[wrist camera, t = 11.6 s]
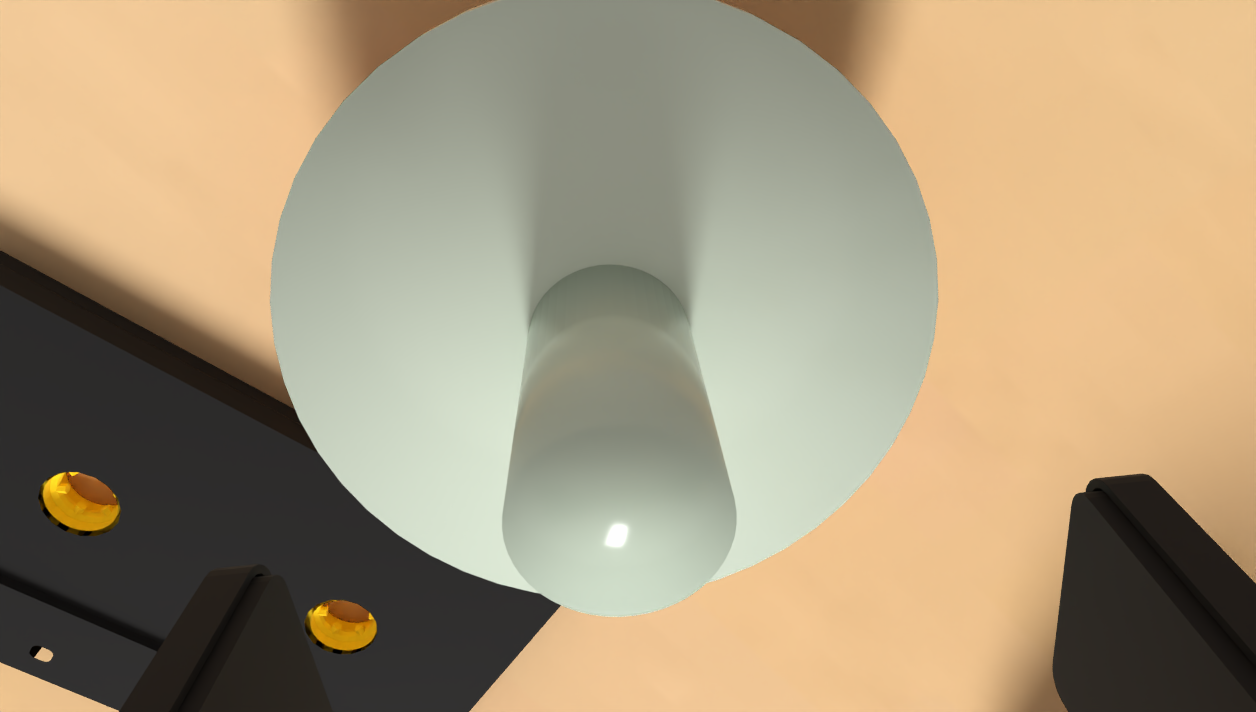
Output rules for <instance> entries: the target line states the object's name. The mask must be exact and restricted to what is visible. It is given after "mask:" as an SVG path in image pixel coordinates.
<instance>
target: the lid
mask: <svg viewBox="0 0 1256 712" xmlns="http://www.w3.org/2000/svg"><path fill="white" fill-rule="evenodd" d="M270 306H271V316H272V326H273V335H274V344H275V348H276V352H277V356H278V360H279V364H280V368H281V372H282V376H283V380H284V383H285V386H286V388H287V391H288V393H289V396H290V398H291V400H292V403H293V405H294V408H295V410H296V413H297V415H298V418H299V420H300V422H301V423H302V425H303V427H304V429H305V430H306V432H307V434H308V436H309V437H310V439H311V441H312V443H313V444H314V446H315V448H316V450H317V451H318V453H319V454H320V456H321V457H322V458H323V460H324V461H325V462H326V464H327V465H328V466H329V468H330V469H331V470H332V472H333V473H334V474H335V476H336V477H337V478H338V479H339V481H340V482H341V483H342V484H343V485H344V486H345V488H346V489H347V490H348V491H349V492H350V493H351V494H352V495H353V496H354V497H355V498H356V499H357V500H358V501H359V502H360V503H361V504H362V505H363V506H364V507H365V508H366V509H367V510H368V511H369V512H370V513H371V514H373V515H374V516H375V517H376V518H378V519H379V520H380V521H381V522H383V523H384V524H385V525H386V526H388V527H389V528H390V529H391V530H393V531H394V532H395V533H396V534H397V535H399V536H401V537H402V538H404V539H405V540H407V541H408V542H410V543H412V544H413V545H415V546H416V547H418V548H420V549H421V550H423V551H424V552H426V553H427V554H429V555H431V556H433V557H435V558H437V559H439V560H441V561H443V562H445V563H447V564H449V565H451V566H454V567H456V568H458V569H460V570H462V571H464V572H467V573H470V574H472V575H475V576H478V577H481V578H484V579H486V580H489V581H492V582H495V583H497V584H501V585H505V586H509V587H513V588H518V589H522V590H526V591H530V592H534V593H540V594H542V595H543V596H545V597H546V598H548V599H550V600H551V601H553V602H555V603H557V604H559V605H561V606H564V607H566V608H569V609H572V610H575V611H578V612H582V613H586V614H590V615H598V616H608V617H624V616H635V615H641V614H647V613H651V612H654V611H658V610H661V609H664V608H666V607H669V606H671V605H674V604H676V603H678V602H680V601H682V600H684V599H686V598H687V597H689V596H690V595H692V594H693V593H695V592H696V591H698V590H699V589H700V588H701V587H702V586H704V585H705V584H706V583H708V582H712V581H715V580H718V579H721V578H723V577H726V576H728V575H731V574H733V573H736V572H738V571H741V570H743V569H746V568H748V567H751V566H753V565H755V564H757V563H759V562H761V561H763V560H765V559H766V558H768V557H770V556H772V555H774V554H776V553H778V552H780V551H782V550H783V549H785V548H787V547H788V546H790V545H791V544H793V543H794V542H796V541H797V540H799V539H800V538H802V537H803V536H805V535H806V534H807V533H809V532H810V531H812V530H813V529H815V528H816V527H817V526H819V525H820V524H821V523H822V522H823V521H824V520H826V519H827V518H828V517H829V516H830V515H831V514H833V513H834V512H835V511H836V510H837V509H839V508H840V507H841V506H842V505H843V504H844V503H845V502H846V501H847V500H848V499H849V498H850V497H851V496H852V495H853V494H854V493H855V492H856V490H857V489H858V488H859V487H860V486H861V485H862V484H863V483H864V482H865V481H866V480H867V479H868V478H869V476H870V475H871V474H872V472H873V471H874V470H875V468H876V467H877V466H878V464H879V463H880V461H881V460H882V459H883V457H884V456H885V455H886V453H887V452H888V450H889V449H890V448H891V446H892V445H893V443H894V441H895V439H896V438H897V436H898V434H899V432H900V430H901V428H902V427H903V425H904V423H905V421H906V419H907V418H908V416H909V414H910V412H911V410H912V407H913V405H914V402H915V400H916V397H917V394H918V392H919V389H920V387H921V384H922V382H923V379H924V377H925V373H926V369H927V365H928V361H929V357H930V353H931V349H932V345H933V341H934V334H935V325H936V315H937V306H938V280H937V258H936V252H935V247H934V241H933V235H932V230H931V224H930V219H929V216H928V213H927V210H926V207H925V204H924V201H923V198H922V195H921V192H920V189H919V186H918V183H917V180H916V178H915V176H914V174H913V172H912V170H911V168H910V166H909V164H908V162H907V160H906V158H905V156H904V154H903V152H902V150H901V148H900V146H899V144H898V142H897V140H896V139H895V138H894V136H893V135H892V133H891V132H890V131H889V129H888V128H887V126H886V125H885V124H884V122H883V121H882V119H881V118H880V117H879V115H878V114H877V112H876V111H875V110H874V108H873V107H872V105H871V104H870V103H869V102H868V101H867V100H866V99H865V98H864V97H863V96H862V95H861V93H860V92H859V91H858V90H857V89H856V88H855V87H854V86H853V85H852V84H851V83H850V82H849V81H848V80H847V79H846V78H845V77H844V76H843V75H842V74H841V73H840V72H839V71H838V70H837V69H836V68H834V67H833V66H832V65H831V64H829V63H828V62H827V61H825V60H824V59H823V58H821V57H820V56H819V55H818V54H816V53H815V52H814V51H812V50H811V49H810V48H808V47H807V46H806V45H805V44H803V43H802V42H801V41H799V40H797V39H795V38H794V37H792V36H790V35H788V34H787V33H785V32H783V31H781V30H779V29H778V28H776V27H774V26H772V25H770V24H769V23H767V22H765V21H763V20H762V19H760V18H758V17H756V16H754V15H752V14H750V13H748V12H747V11H744V10H741V9H739V8H736V7H734V6H731V5H728V4H726V3H723V2H721V1H718V0H493V1H490V2H487V3H484V4H482V5H479V6H476V7H473V8H471V9H468V10H466V11H465V12H463V13H461V14H459V15H457V16H455V17H453V18H451V19H450V20H448V21H446V22H444V23H442V24H440V25H438V26H436V27H435V28H433V29H431V30H429V31H427V32H426V33H424V34H423V35H421V36H420V37H418V38H417V39H415V40H414V41H413V42H411V43H410V44H408V45H407V46H406V47H404V48H403V49H402V50H400V51H399V52H398V53H396V54H395V55H394V56H392V57H391V58H389V59H388V60H387V61H385V62H384V63H383V64H381V65H380V66H379V67H377V68H376V69H375V70H374V71H373V72H372V73H371V74H370V75H369V76H368V77H367V78H366V79H365V80H364V81H363V82H362V83H361V84H360V85H359V86H358V87H357V88H356V89H355V90H354V91H353V92H352V93H351V94H350V95H349V96H348V97H347V98H346V99H345V100H344V101H343V102H342V104H341V105H340V106H339V108H338V109H337V110H336V112H335V113H334V115H333V116H332V117H331V119H330V120H329V121H328V123H327V124H326V125H325V127H324V128H323V129H322V131H321V132H320V133H319V135H318V136H317V137H316V139H315V141H314V143H313V144H312V146H311V148H310V150H309V152H308V154H307V156H306V158H305V159H304V161H303V163H302V165H301V167H300V169H299V171H298V173H297V174H296V176H295V178H294V181H293V184H292V187H291V190H290V192H289V195H288V198H287V201H286V204H285V207H284V209H283V212H282V215H281V218H280V222H279V227H278V232H277V237H276V243H275V248H274V253H273V258H272V270H271V294H270Z"/></svg>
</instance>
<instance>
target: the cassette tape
mask: <svg viewBox="0 0 1256 712" xmlns="http://www.w3.org/2000/svg"><path fill="white" fill-rule="evenodd" d="M12 270H13V271H12ZM14 271H15V272H14ZM27 278H28V279H27ZM40 285H41V286H40ZM42 286H43V287H42ZM55 293H56V294H55ZM68 300H69V301H68ZM70 301H71V302H70ZM83 308H84V309H83ZM85 309H86V310H85ZM98 316H99V317H98ZM111 323H112V324H111ZM113 324H114V325H113ZM126 331H127V332H126ZM128 332H129V333H128ZM141 339H142V340H141ZM154 346H155V347H154ZM156 347H157V348H156ZM169 354H170V355H169ZM171 355H172V356H171ZM184 362H185V363H184ZM197 369H198V370H197ZM199 370H200V371H199ZM212 377H213V378H212ZM214 378H215V379H214ZM227 385H228V386H227ZM240 392H241V393H240ZM242 393H243V394H242ZM255 400H256V401H255ZM257 401H258V402H257ZM270 408H271V409H270ZM283 415H284V416H283ZM285 416H286V417H285ZM298 423H299V424H298ZM66 472H69V473H70V475H71V476H74V475H76V474H78V473H79V472H80V473H83V474H86V475H89V476H92V477H95V478H97V479H98V480H100V481H101V482H103V483H104V484H106V485H107V486H108V487H109V488H110V489H111V490H112V492H113V496H114V498H116V499H117V502H118V505H113V506H111V505H100V504H96V503H93V502H90V501H88V500H86V499H85V498H83V497H82V496H80V495H79V494H78V493H77V492H76V491H75V490H74V489H73V488H72V486H71V485H70V483H69V481H68V479H67V474H66ZM255 564H261V565H265V566H266V567H267V568H268V569H269V571H270V573H271V575H280V576H281V577H282V578H283V579H284V580H285V582H286V584H287V587H288V590H289V593H290V595H291V598H292V601H293V604H294V606H295V609H296V612H297V615H298V617H299V620H300V623H301V626H302V628H303V631H304V634H305V637H306V639H307V642H308V645H309V648H310V650H311V653H312V656H313V659H314V661H315V664H316V667H317V670H318V672H319V675H320V678H321V681H322V683H323V686H324V689H325V692H326V694H327V697H328V700H329V703H330V705H331V708H332V711H333V712H469V711H470V710H471V709H472V708H473V706H474V705H475V704H476V703H477V702H478V701H479V700H480V698H481V697H482V696H483V695H484V694H485V693H486V691H487V690H488V689H489V688H490V687H491V686H492V685H493V683H494V682H495V681H496V680H497V679H498V678H499V676H500V675H501V674H502V673H503V672H504V671H505V669H506V668H507V667H508V666H509V665H510V664H511V663H512V661H513V660H514V659H515V658H516V657H517V656H518V654H519V653H520V652H521V651H522V650H523V649H524V647H525V646H526V645H527V644H528V643H529V642H530V641H531V639H532V638H533V637H534V636H535V635H536V634H537V632H538V631H539V630H540V629H541V628H542V627H543V625H544V624H545V623H546V622H547V621H548V620H549V619H550V617H551V616H552V615H553V614H554V613H555V612H556V610H557V609H558V608H559V607H560V606H561V605H559V604H557V603H555V602H553V601H551V600H550V599H548V598H546V597H545V596H543V595H542V594H540V593H534V592H530V591H526V590H522V589H518V588H513V587H509V586H505V585H501V584H497V583H495V582H492V581H489V580H486V579H484V578H481V577H478V576H475V575H472V574H470V573H467V572H464V571H462V570H460V569H458V568H456V567H454V566H451V565H449V564H447V563H445V562H443V561H441V560H439V559H437V558H435V557H433V556H431V555H429V554H427V553H426V552H424V551H423V550H421V549H420V548H418V547H416V546H415V545H413V544H412V543H410V542H408V541H407V540H405V539H404V538H402V537H401V536H399V535H397V534H396V533H395V532H394V531H393V530H391V529H390V528H389V527H388V526H386V525H385V524H384V523H383V522H381V521H380V520H379V519H378V518H376V517H375V516H374V515H373V514H371V513H370V512H369V511H368V510H367V509H366V508H365V507H364V506H363V505H362V504H361V503H360V502H359V501H358V500H357V499H356V498H355V497H354V496H353V495H352V494H351V493H350V492H349V491H348V490H347V489H346V488H345V486H344V485H343V484H342V483H341V482H340V481H339V479H338V478H337V477H336V476H335V474H334V473H333V472H332V470H331V469H330V468H329V466H328V465H327V464H326V462H325V461H324V460H323V458H322V457H321V456H320V454H319V453H318V451H317V450H316V448H315V446H314V444H313V443H312V441H311V439H310V437H309V436H308V434H307V432H306V430H305V429H304V427H303V425H302V423H301V422H300V420H299V418H298V415H297V413H296V410H295V409H293V408H291V407H289V406H287V405H285V404H284V403H282V402H280V401H278V400H276V399H274V398H272V397H271V396H269V395H267V394H265V393H263V392H261V391H259V390H258V389H256V388H254V387H252V386H250V385H248V384H247V383H245V382H243V381H241V380H239V379H237V378H235V377H234V376H232V375H230V374H228V373H226V372H224V371H222V370H221V369H219V368H217V367H215V366H213V365H211V364H209V363H208V362H206V361H204V360H202V359H200V358H198V357H197V356H195V355H193V354H191V353H189V352H187V351H185V350H184V349H182V348H180V347H178V346H176V345H174V344H172V343H171V342H169V341H167V340H165V339H163V338H161V337H159V336H158V335H156V334H154V333H152V332H150V331H148V330H147V329H145V328H143V327H141V326H139V325H137V324H135V323H134V322H132V321H130V320H128V319H126V318H124V317H122V316H121V315H119V314H117V313H115V312H113V311H111V310H109V309H108V308H106V307H104V306H102V305H100V304H98V303H97V302H95V301H93V300H91V299H89V298H87V297H85V296H84V295H82V294H80V293H78V292H76V291H74V290H72V289H71V288H69V287H67V286H65V285H63V284H61V283H59V282H58V281H56V280H54V279H52V278H50V277H48V276H47V275H45V274H43V273H41V272H39V271H37V270H35V269H34V268H32V267H30V266H28V265H26V264H24V263H22V262H21V261H19V260H17V259H15V258H13V257H11V256H9V255H8V254H6V253H4V252H2V251H0V662H1V663H3V664H6V665H8V666H11V667H13V668H16V669H18V670H20V671H23V672H25V673H28V674H30V675H33V676H35V677H38V678H40V679H43V680H45V681H47V682H50V683H52V684H55V685H57V686H60V687H62V688H65V689H67V690H70V691H72V692H74V693H77V694H79V695H82V696H84V697H87V698H89V699H92V700H94V701H97V702H99V703H101V704H104V705H106V706H109V707H111V708H114V709H116V710H119V711H120V709H121V708H122V706H123V705H124V703H125V701H126V700H127V698H128V697H129V695H130V694H131V692H132V691H133V689H134V687H135V686H136V684H137V683H138V681H139V680H140V678H141V676H142V675H143V673H144V672H145V670H146V669H147V667H148V665H149V664H150V662H151V661H152V659H153V658H154V656H155V655H156V653H157V651H158V650H159V648H160V647H161V645H162V644H163V642H164V640H165V639H166V637H167V636H168V634H169V633H170V631H171V630H172V628H173V626H174V625H175V623H176V622H177V620H178V619H179V617H180V615H181V614H182V612H183V611H184V609H185V608H186V606H187V604H188V603H189V601H190V600H191V598H192V597H193V595H194V594H195V592H196V590H197V589H198V587H199V586H200V584H201V583H202V581H203V579H204V578H205V577H206V575H207V574H208V573H209V572H210V571H212V570H214V569H216V568H226V567H236V566H246V565H255ZM337 600H344V601H350V602H353V603H356V604H359V605H360V606H362V607H363V608H365V609H366V610H367V611H369V619H371V620H369V621H366V622H360V623H351V622H346V621H342V620H340V619H337V618H336V617H334V616H332V615H331V614H330V613H329V612H328V607H324V606H323V604H325V603H327V602H331V601H337ZM42 647H44V648H46V649H48V650H50V651H52V653H53V657H52V659H51V660H50V661H49V662H44V661H40V660H38V659H36V658H34V657H35V656H36V654H37V653H38V652H39V650H40V649H41V648H42Z"/></svg>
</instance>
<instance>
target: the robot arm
mask: <svg viewBox="0 0 1256 712" xmlns="http://www.w3.org/2000/svg"><path fill="white" fill-rule="evenodd" d="M1053 677H1054V681H1055V685H1056V688H1057V691H1058V694H1059V696H1060V698H1061V700H1062V702H1063V704H1064V705H1065V707H1066V709H1067V711H1068V712H1256V584H1255V583H1254V581H1253V580H1252V579H1251V578H1250V577H1249V576H1248V575H1247V574H1246V573H1245V572H1244V571H1243V570H1242V569H1241V568H1240V567H1239V566H1238V565H1237V564H1236V563H1235V562H1234V561H1233V560H1232V559H1231V558H1230V557H1229V556H1228V555H1227V554H1226V553H1225V552H1224V551H1223V550H1222V549H1221V547H1220V546H1219V545H1218V544H1217V543H1216V542H1215V541H1214V540H1213V539H1212V538H1211V537H1210V536H1209V535H1208V534H1207V533H1206V532H1205V531H1204V530H1203V529H1202V528H1201V527H1200V526H1199V525H1198V524H1197V523H1196V522H1195V521H1194V520H1193V519H1192V518H1191V517H1190V516H1189V514H1188V513H1187V512H1186V511H1185V510H1184V509H1183V508H1182V507H1181V506H1180V505H1179V504H1178V503H1177V502H1176V501H1175V500H1174V499H1173V498H1172V497H1171V496H1170V495H1169V494H1168V493H1167V492H1166V491H1165V490H1164V489H1163V488H1162V487H1161V486H1160V485H1159V484H1158V483H1157V481H1156V480H1154V479H1153V478H1152V477H1150V476H1149V475H1146V474H1135V475H1125V476H1115V477H1105V478H1095V479H1093V480H1091V481H1090V482H1089V484H1088V485H1087V488H1086V492H1084V493H1078V494H1076V495H1075V496H1074V498H1073V501H1072V506H1071V514H1070V523H1069V531H1068V539H1067V548H1066V556H1065V565H1064V573H1063V581H1062V590H1061V598H1060V606H1059V615H1058V623H1057V632H1056V640H1055V648H1054V657H1053ZM119 712H333V711H332V708H331V705H330V703H329V700H328V697H327V694H326V692H325V689H324V686H323V683H322V681H321V678H320V675H319V672H318V670H317V667H316V664H315V661H314V659H313V656H312V653H311V650H310V648H309V645H308V642H307V639H306V637H305V634H304V631H303V628H302V626H301V623H300V620H299V617H298V615H297V612H296V609H295V606H294V604H293V601H292V598H291V595H290V593H289V590H288V587H287V584H286V582H285V580H284V579H283V578H282V577H281V576H280V575H271V573H270V571H269V569H268V568H267V567H266V566H265V565H261V564H255V565H246V566H236V567H226V568H216V569H214V570H212V571H210V572H209V573H208V574H207V575H206V577H205V578H204V579H203V581H202V583H201V584H200V586H199V587H198V589H197V590H196V592H195V594H194V595H193V597H192V598H191V600H190V601H189V603H188V604H187V606H186V608H185V609H184V611H183V612H182V614H181V615H180V617H179V619H178V620H177V622H176V623H175V625H174V626H173V628H172V630H171V631H170V633H169V634H168V636H167V637H166V639H165V640H164V642H163V644H162V645H161V647H160V648H159V650H158V651H157V653H156V655H155V656H154V658H153V659H152V661H151V662H150V664H149V665H148V667H147V669H146V670H145V672H144V673H143V675H142V676H141V678H140V680H139V681H138V683H137V684H136V686H135V687H134V689H133V691H132V692H131V694H130V695H129V697H128V698H127V700H126V701H125V703H124V705H123V706H122V708H121V709H120V711H119Z"/></svg>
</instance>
